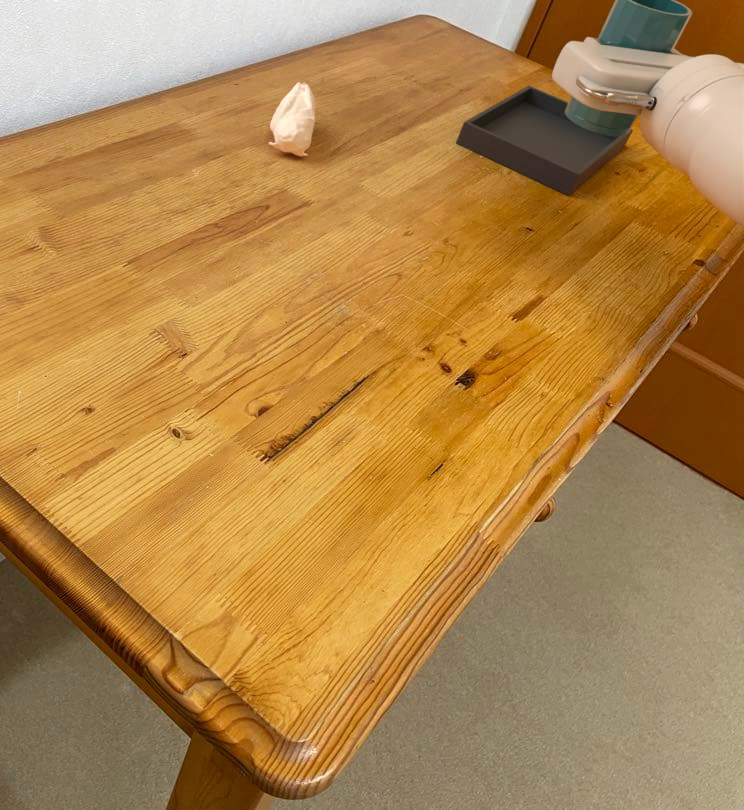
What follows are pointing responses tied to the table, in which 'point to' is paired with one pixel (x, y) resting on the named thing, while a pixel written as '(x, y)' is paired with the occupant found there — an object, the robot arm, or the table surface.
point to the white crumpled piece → (294, 121)
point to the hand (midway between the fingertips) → (626, 50)
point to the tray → (539, 140)
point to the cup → (636, 29)
